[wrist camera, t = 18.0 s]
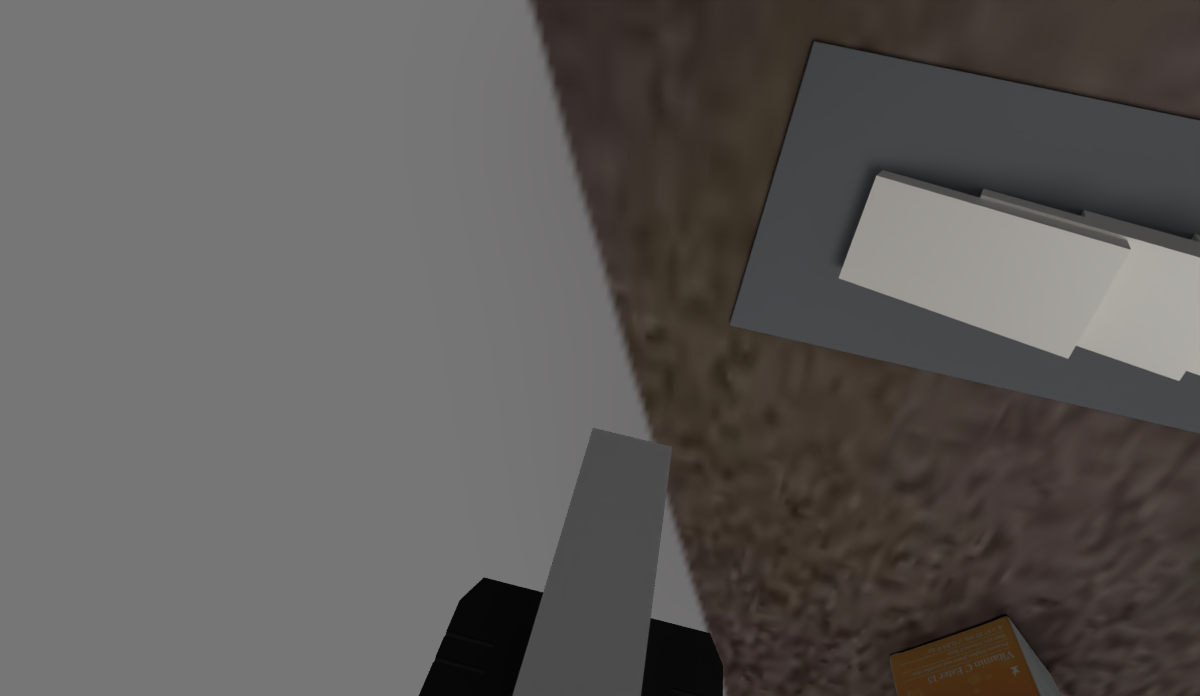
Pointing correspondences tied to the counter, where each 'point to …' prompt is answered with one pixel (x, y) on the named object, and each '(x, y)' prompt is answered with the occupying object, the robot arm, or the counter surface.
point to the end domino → (982, 262)
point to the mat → (965, 164)
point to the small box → (974, 665)
